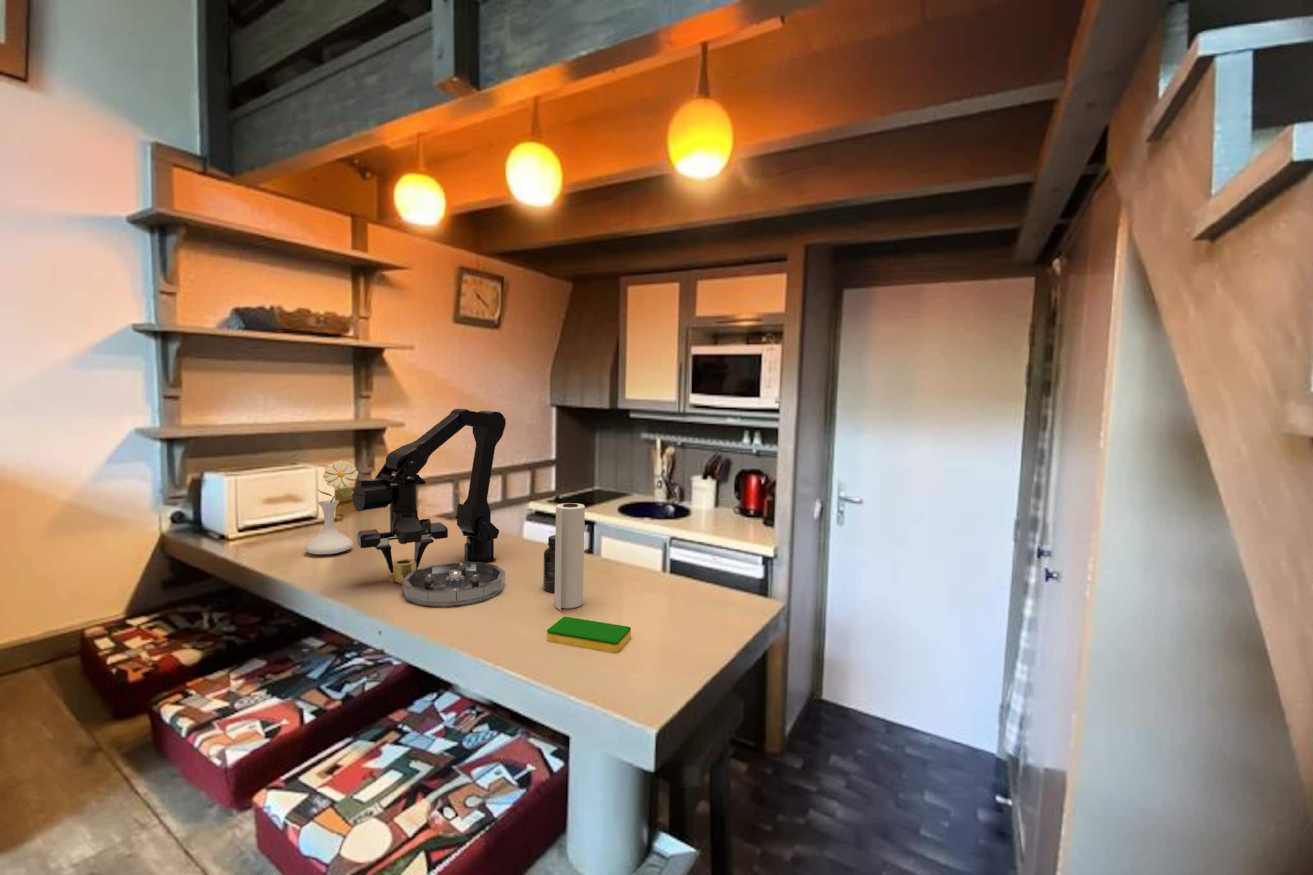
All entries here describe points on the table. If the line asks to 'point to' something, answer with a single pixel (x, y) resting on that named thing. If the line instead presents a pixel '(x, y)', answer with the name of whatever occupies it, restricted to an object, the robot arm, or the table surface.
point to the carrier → (453, 584)
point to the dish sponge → (589, 634)
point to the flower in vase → (333, 510)
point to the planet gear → (401, 569)
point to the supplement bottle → (549, 565)
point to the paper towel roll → (569, 555)
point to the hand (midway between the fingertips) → (403, 570)
